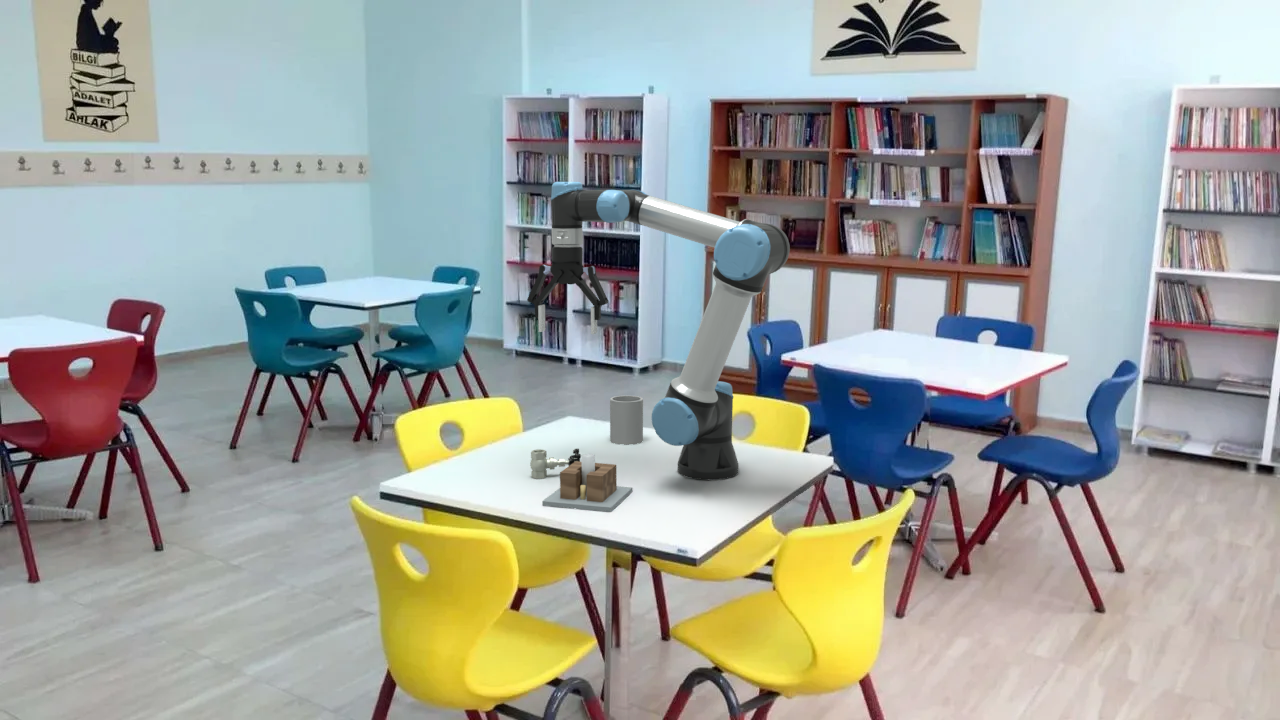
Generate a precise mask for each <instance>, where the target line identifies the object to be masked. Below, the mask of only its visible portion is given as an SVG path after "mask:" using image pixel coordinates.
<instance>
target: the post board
mask: <svg viewBox="0 0 1280 720" xmlns="http://www.w3.org/2000/svg"><path fill="white" fill-rule="evenodd" d="M581 462H582V485H580V497H579V498H577V499H576V500H572V499H561V498H560V487H559V488H558V489H557V490H555V491H554V492H553V493H551V494H550V495H548V496H547V497H546V498H545V499H543V500H542V503H541V504H542V505H543V507H545V506H546V507H553V506H555V507H554V508H563V507H565V508H564V509H574V508H576V509H575V510H584V511H597V512H608V513H612V511H614V510H615V509H616V508H617V507H618V506H619V505H620V504H621V503H622V502H623V501H624V500H625V499H626V498H627V497H629V496H630V495H631V494H632V493H633V489H634V488H633V487H631V486H622V485H621V486H619V485H617V490H616V491H615V492H614V493H613V494H611V495H610V496H609V497H608V498H607V499H606V500H605V501H604V502H594V501H587V474H588V473H589V472H595V463H596V456H595V454H591V453H585V454H582V455H581Z"/></svg>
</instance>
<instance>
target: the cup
mask: <svg viewBox="0 0 1280 720" xmlns="http://www.w3.org/2000/svg"><path fill="white" fill-rule="evenodd" d="M609 416H610V417H609V419H610V420H609V421H610V422H609V425H610V426H609V430H610V431H609V434H610V435H609V436H610V438H609V441H611V442H610V443H611V444H614V443H615V445H620V444H624V445H623V446H629V444H633V445H638V444H637V443H639V444H641V442H642V441H644V398H643V397H642V396H638V395H615V396H612V397H610V398H609ZM642 443H643V442H642Z"/></svg>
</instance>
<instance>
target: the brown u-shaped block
mask: <svg viewBox="0 0 1280 720" xmlns="http://www.w3.org/2000/svg"><path fill="white" fill-rule="evenodd" d="M617 466H618V465H617V464H616V463H615V464H612V463H603V462H601V463H600V462H595V472H589V473H588V474H587V501H594V502H604V501H605V500H606V499H607V498H608V497H609V496H610V495H611V494H613V493H614V492H615V491H616V490H617V486H618V485H617V483H618V482H617V475H618V474H617V472H618V471H617V468H618V467H617ZM580 485H582V461H580V462H578V461H575V462H574V463H572V464H571V465H570V466H568V465H567V467H565V468H564V469H563V470H561V471H560V472H559V488H560V498H561V499H572V500H576V499H577V498H579V497H580Z"/></svg>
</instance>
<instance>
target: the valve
mask: <svg viewBox="0 0 1280 720" xmlns="http://www.w3.org/2000/svg"><path fill="white" fill-rule="evenodd" d="M547 457H548V455H547V450H546V449H539V448H537V449H533V450H531V452H530V458H531V460H530V465H529V466H530V469H531V471H530V473H531V474H530V475H531V476H530V477H531V478H532V479H536V480H540V479H545V478H547V477H548V469H549V470H552V471H553V470H555V468H557V466H558V467H559V468H561V467H565V466H567V467H568V466H570V465H571V464H572V463H574V462H575V461H578V462H581V459H582V455H581V453H580V449H579V448H574V449H573V451H572V455H570V456H569V458H567V459H566V460H565V458H559V459H558V460H557V459H556V458H554V457H553V456H552V457H551V456H550V457H549V458H547Z"/></svg>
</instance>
